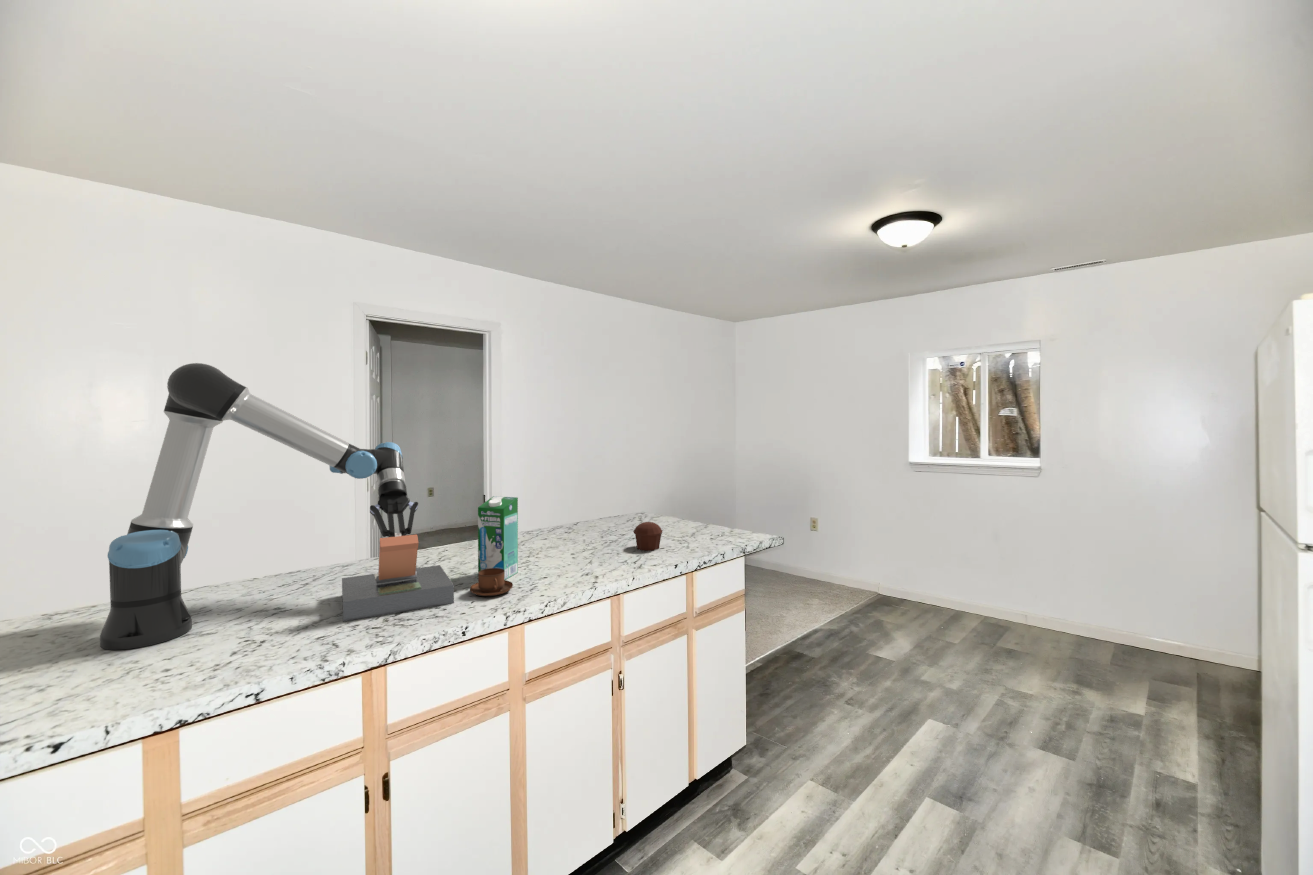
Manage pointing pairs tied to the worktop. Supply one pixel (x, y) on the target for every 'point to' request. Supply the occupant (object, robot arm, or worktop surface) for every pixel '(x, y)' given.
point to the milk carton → (498, 535)
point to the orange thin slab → (397, 558)
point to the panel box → (395, 593)
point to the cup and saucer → (491, 583)
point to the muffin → (648, 536)
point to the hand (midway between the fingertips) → (399, 555)
